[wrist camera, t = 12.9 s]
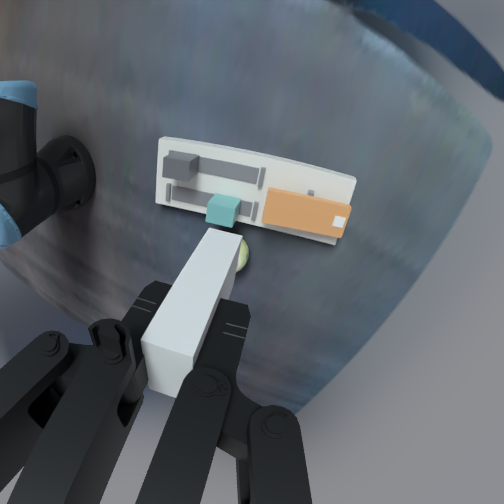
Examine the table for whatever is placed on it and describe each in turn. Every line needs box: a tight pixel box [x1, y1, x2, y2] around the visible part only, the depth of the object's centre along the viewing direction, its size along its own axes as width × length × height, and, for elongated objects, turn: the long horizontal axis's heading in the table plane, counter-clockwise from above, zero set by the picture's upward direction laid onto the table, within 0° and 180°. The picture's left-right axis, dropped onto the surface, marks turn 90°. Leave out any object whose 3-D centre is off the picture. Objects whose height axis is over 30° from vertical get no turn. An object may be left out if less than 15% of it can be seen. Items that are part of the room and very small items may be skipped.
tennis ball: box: [236, 239, 249, 272], centre depth 49 cm, size 6×7×7 cm
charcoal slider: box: [162, 151, 199, 182], centre depth 41 cm, size 4×3×4 cm
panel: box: [156, 137, 357, 245], centre depth 43 cm, size 30×11×3 cm, turn 79°
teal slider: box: [205, 193, 241, 228], centre depth 43 cm, size 4×3×4 cm
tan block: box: [262, 187, 352, 238], centre depth 41 cm, size 12×5×1 cm, turn 80°
